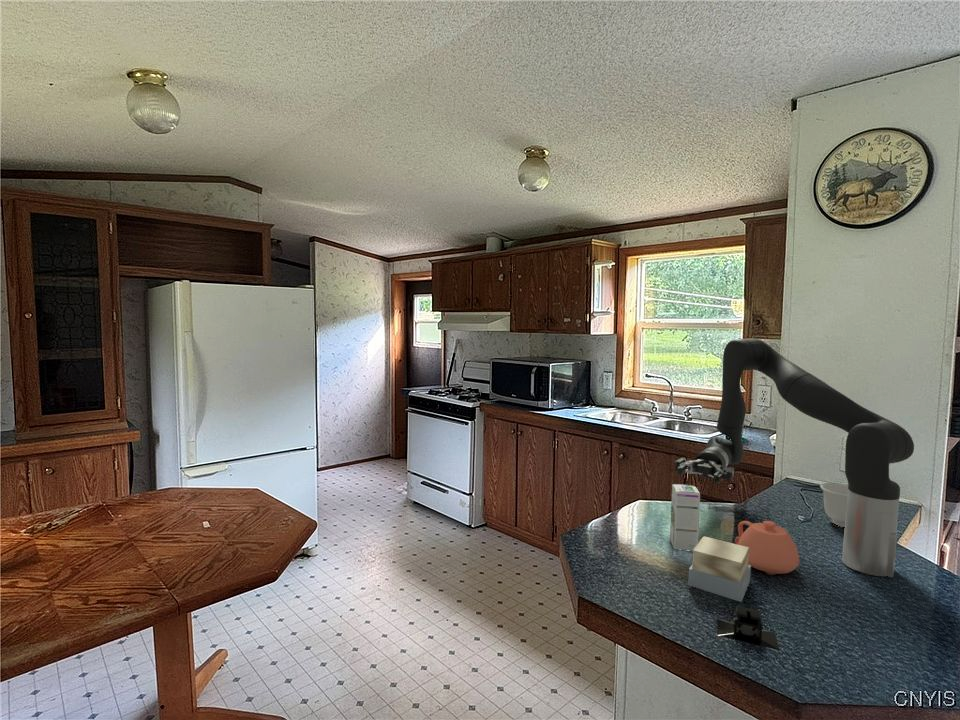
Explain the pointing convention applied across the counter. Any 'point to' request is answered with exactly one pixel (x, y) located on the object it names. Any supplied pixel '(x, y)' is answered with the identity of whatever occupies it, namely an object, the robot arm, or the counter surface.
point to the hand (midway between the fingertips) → (697, 475)
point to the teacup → (835, 501)
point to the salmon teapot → (768, 547)
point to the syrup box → (684, 517)
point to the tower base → (720, 584)
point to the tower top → (720, 558)
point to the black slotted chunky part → (747, 628)
